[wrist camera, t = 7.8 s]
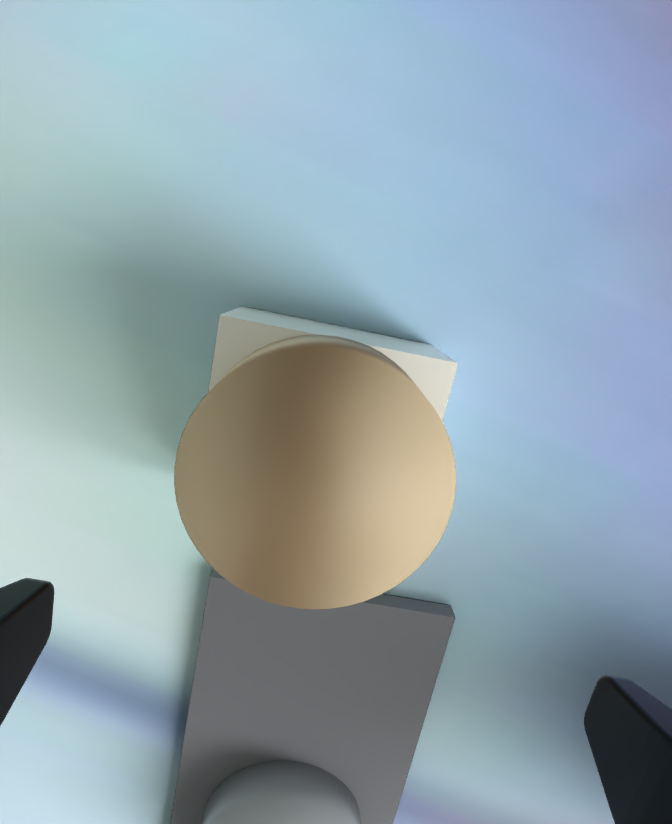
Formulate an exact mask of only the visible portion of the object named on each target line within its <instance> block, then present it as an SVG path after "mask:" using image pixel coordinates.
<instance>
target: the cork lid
mask: <svg viewBox="0 0 672 824" xmlns="http://www.w3.org/2000/svg"><path fill="white" fill-rule="evenodd" d="M174 486H175V494H176V501H177V505H178V509H179V513H180V516H181V519H182V522H183V524H184V526H185V529H186V531H187V533H188V535H189V537H190V539H191V540H192V542H193V544H194V545H195V547H196V549H197V550H198V551H199V553H200V554H201V555H202V556H203V558H204V559H205V560H206V561H207V563H208V564H209V565H211V566H212V567H213V568H214V569H215V570H216V571H217V572H218V573H219V574H220V575H221V576H222V577H224V578H225V579H226V580H228V581H229V582H230V583H232V584H233V585H235V586H236V587H238V588H240V589H241V590H243V591H245V592H246V593H248V594H251V595H253V596H255V597H257V598H260V599H262V600H265V601H268V602H271V603H275V604H278V605H282V606H287V607H293V608H300V609H332V608H338V607H344V606H350V605H353V604H357V603H360V602H364V601H366V600H369V599H371V598H374V597H376V596H379V595H381V594H383V593H384V592H386V591H388V590H390V589H392V588H393V587H395V586H397V585H398V584H399V583H401V582H402V581H403V580H405V579H406V578H408V577H409V576H410V575H411V574H412V573H413V572H414V571H415V570H416V569H418V568H419V567H420V566H421V565H422V563H423V562H424V561H425V560H426V559H427V557H428V556H429V555H430V554H431V553H432V551H433V550H434V548H435V547H436V545H437V543H438V542H439V540H440V539H441V537H442V535H443V532H444V530H445V528H446V526H447V524H448V521H449V518H450V515H451V511H452V508H453V503H454V497H455V491H456V468H455V460H454V454H453V450H452V446H451V442H450V439H449V436H448V434H447V431H446V429H445V427H444V424H443V422H442V420H441V419H440V417H439V415H438V414H437V412H436V410H435V409H434V407H433V406H432V405H431V403H430V402H429V401H428V399H427V398H426V397H425V396H424V394H423V393H422V392H421V391H420V389H419V388H418V387H417V386H416V384H415V383H414V382H413V381H412V379H411V378H410V377H409V376H408V375H407V373H406V372H405V371H404V370H403V369H402V368H400V367H399V366H398V365H397V364H396V363H395V362H394V361H392V360H391V359H390V358H388V357H387V356H385V355H384V354H383V353H381V352H379V351H377V350H375V349H374V348H372V347H370V346H368V345H365V344H363V343H360V342H357V341H355V340H352V339H347V338H343V337H338V336H330V335H302V336H296V337H290V338H286V339H283V340H279V341H276V342H273V343H270V344H268V345H266V346H264V347H262V348H260V349H258V350H256V351H254V352H253V353H251V354H250V355H248V356H247V357H245V358H244V359H242V360H241V361H240V362H239V363H238V364H237V365H235V366H234V367H233V368H232V369H231V370H230V371H229V372H228V373H227V374H226V375H225V376H224V377H223V378H222V379H221V380H220V381H219V382H218V383H217V384H216V385H215V386H214V387H213V388H212V389H211V390H210V391H209V392H208V394H207V395H206V396H205V397H204V398H203V399H202V400H201V402H200V403H199V404H198V406H197V407H196V409H195V411H194V412H193V414H192V415H191V417H190V418H189V421H188V423H187V425H186V427H185V429H184V431H183V433H182V437H181V440H180V443H179V446H178V450H177V455H176V462H175V475H174Z"/></svg>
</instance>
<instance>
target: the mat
mask: <svg viewBox="0 0 672 824" xmlns="http://www.w3.org/2000/svg"><path fill="white" fill-rule="evenodd" d="M454 620H455V616H454V613H453V611H452V608H451V606H450V605H444V604H438V603H433V602H427V601H421V600H415V599H409V598H403V597H397V596H391V595H385V594H381V595H379V596H376V597H374V598H371V599H369V600H366V601H364V602H360V603H357V604H353V605H350V606H344V607H338V608H332V609H300V608H293V607H287V606H282V605H278V604H275V603H271V602H268V601H265V600H262V599H260V598H257V597H255V596H253V595H251V594H248V593H246V592H245V591H243V590H241V589H240V588H238V587H236V586H235V585H233V584H232V583H230V582H229V581H228V580H226V579H225V578H224V577H222V576H221V575H220V574H219V573H218V572H217V571H216V570H215V569H214V568H213V570H212V572H211V575H210V579H209V586H208V592H207V598H206V604H205V610H204V617H203V623H202V629H201V635H200V642H199V648H198V654H197V660H196V666H195V673H194V679H193V685H192V691H191V698H190V704H189V710H188V716H187V723H186V729H185V735H184V741H183V747H182V754H181V760H180V766H179V772H178V779H177V785H176V791H175V797H174V803H173V810H172V816H171V822H170V824H201V822H202V818H203V813H204V810H205V806H206V804H207V802H208V800H209V798H210V796H211V795H212V793H213V792H214V790H215V789H216V788H217V787H218V786H219V785H220V784H221V783H222V782H223V781H224V780H226V779H227V778H228V777H229V776H231V775H233V774H234V773H236V772H238V771H240V770H242V769H244V768H246V767H249V766H252V765H255V764H259V763H264V762H270V761H296V762H302V763H307V764H311V765H313V766H316V767H319V768H321V769H323V770H325V771H327V772H329V773H331V774H332V775H334V776H336V777H337V778H338V779H339V780H341V781H342V782H343V783H344V784H345V785H346V786H347V787H348V788H349V790H350V791H351V792H352V794H353V795H354V797H355V799H356V801H357V803H358V806H359V810H360V816H361V824H393V821H394V818H395V815H396V811H397V808H398V805H399V802H400V798H401V795H402V792H403V788H404V785H405V782H406V778H407V775H408V772H409V769H410V765H411V762H412V759H413V755H414V752H415V749H416V745H417V742H418V739H419V736H420V732H421V729H422V726H423V722H424V719H425V716H426V712H427V709H428V706H429V702H430V699H431V696H432V693H433V689H434V686H435V683H436V679H437V676H438V673H439V669H440V666H441V663H442V660H443V656H444V653H445V650H446V646H447V643H448V640H449V636H450V633H451V630H452V627H453V623H454Z"/></svg>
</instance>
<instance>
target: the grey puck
mask: <svg viewBox="0 0 672 824" xmlns="http://www.w3.org/2000/svg"><path fill="white" fill-rule="evenodd" d="M201 824H361V816H360V810H359V806H358V803H357V801H356V799H355V797H354V795H353V794H352V792H351V791H350V790H349V788H348V787H347V786H346V785H345V784H344V783H343V782H342V781H341V780H339V779H338V778H337V777H336V776H334V775H332V774H331V773H329V772H327V771H325V770H323V769H321V768H319V767H316V766H313V765H311V764H307V763H302V762H296V761H270V762H264V763H259V764H255V765H252V766H249V767H246V768H244V769H242V770H240V771H238V772H236V773H234V774H233V775H231V776H229V777H228V778H227V779H226V780H224V781H223V782H222V783H221V784H220V785H219V786H218V787H217V788H216V789H215V790H214V792H213V793H212V795H211V796H210V798H209V800H208V802H207V804H206V806H205V810H204V813H203V818H202V822H201Z"/></svg>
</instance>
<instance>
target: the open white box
mask: <svg viewBox="0 0 672 824" xmlns="http://www.w3.org/2000/svg"><path fill="white" fill-rule="evenodd" d="M302 335H330V336H338V337H343V338H347V339H352V340H355V341H357V342H360V343H363V344H365V345H368V346H370V347H372V348H374V349H375V350H377V351H379V352H381V353H383V354H384V355H385V356H387V357H388V358H390V359H391V360H392V361H394V362H395V363H396V364H397V365H398V366H399V367H400V368H402V369H403V370H404V371H405V372H406V373H407V375H408V376H409V377H410V378H411V379H412V381H413V382H414V383H415V384H416V386H417V387H418V388H419V389H420V391H421V392H422V393H423V394H424V396H425V397H426V398H427V399H428V401H429V402H430V403H431V405H432V406H433V407H434V409H435V410H436V412H437V414H438V415H439V417H440V419H441V420H442V422H443V418H444V414H445V410H446V407H447V403H448V399H449V395H450V392H451V388H452V384H453V380H454V377H455V373H456V369H457V365H458V363H457V362H456V361H454V360H453V359H451V358H450V357H449V356H447V355H446V354H444V353H443V352H441V351H440V350H438V349H437V348H435V347H434V346H432V345H430V344H425V343H420V342H415V341H410V340H405V339H401V338H396V337H391V336H386V335H381V334H376V333H371V332H366V331H361V330H357V329H352V328H347V327H342V326H337V325H332V324H327V323H322V322H317V321H312V320H308V319H303V318H298V317H293V316H288V315H283V314H278V313H273V312H268V311H264V310H259V309H254V308H249V307H244V306H241V307H238V308H236V309H233V310H230V311H228V312H225V313H223V314H220V315H219V322H218V329H217V336H216V343H215V350H214V356H213V363H212V370H211V377H210V384H209V391H210V390H211V389H212V388H213V387H214V386H215V385H216V384H217V383H218V382H219V381H220V380H221V379H222V378H223V377H224V376H225V375H226V374H227V373H228V372H229V371H230V370H231V369H232V368H233V367H234V366H235V365H237V364H238V363H239V362H240V361H241V360H242V359H244V358H245V357H247V356H248V355H250V354H251V353H253V352H254V351H256V350H258V349H260V348H262V347H264V346H266V345H268V344H270V343H273V342H276V341H279V340H283V339H286V338H290V337H296V336H302ZM209 391H208V392H209Z"/></svg>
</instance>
